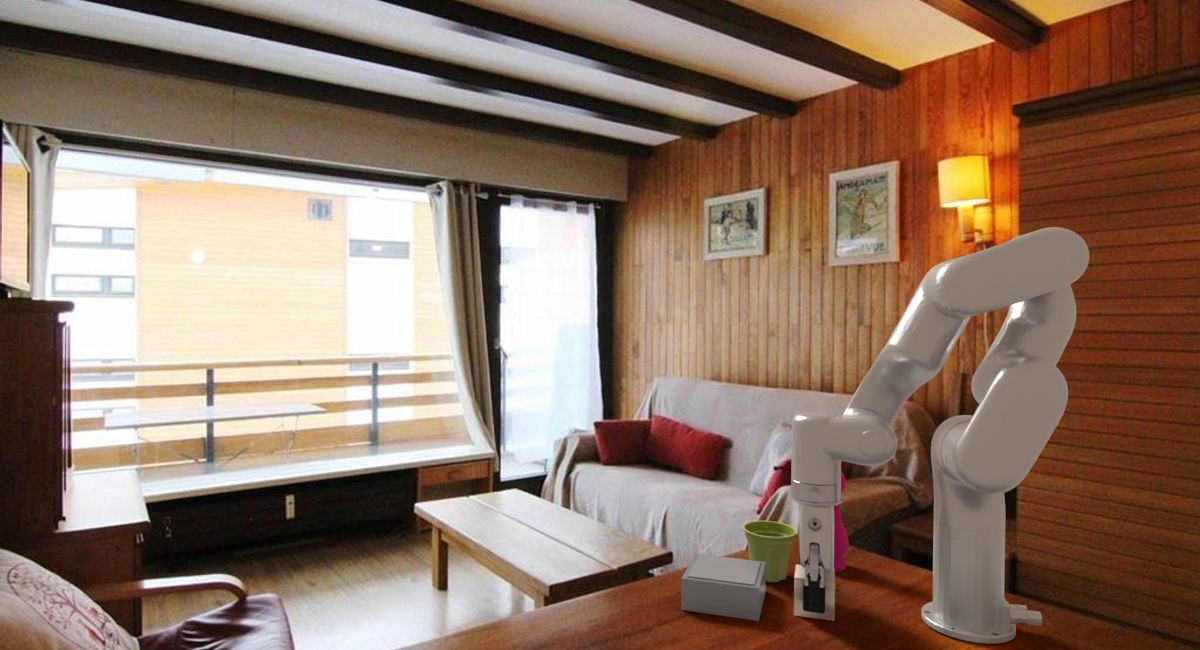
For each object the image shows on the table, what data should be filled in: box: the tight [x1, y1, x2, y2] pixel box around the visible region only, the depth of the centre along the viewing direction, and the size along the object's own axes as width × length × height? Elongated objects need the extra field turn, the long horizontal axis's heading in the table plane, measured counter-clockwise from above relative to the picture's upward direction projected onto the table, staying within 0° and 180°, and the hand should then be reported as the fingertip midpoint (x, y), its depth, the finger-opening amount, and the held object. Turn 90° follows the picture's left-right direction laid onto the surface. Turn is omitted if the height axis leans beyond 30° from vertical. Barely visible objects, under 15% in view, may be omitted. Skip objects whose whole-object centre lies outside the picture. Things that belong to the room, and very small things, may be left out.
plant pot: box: [742, 520, 798, 583], centre depth 122 cm, size 9×9×9 cm
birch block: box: [793, 563, 836, 622], centre depth 108 cm, size 6×6×6 cm
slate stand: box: [680, 553, 767, 622], centre depth 112 cm, size 12×12×5 cm
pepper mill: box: [834, 471, 850, 573], centre depth 127 cm, size 7×7×20 cm
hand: (814, 599), depth 108 cm, fingers open, 8 cm apart
